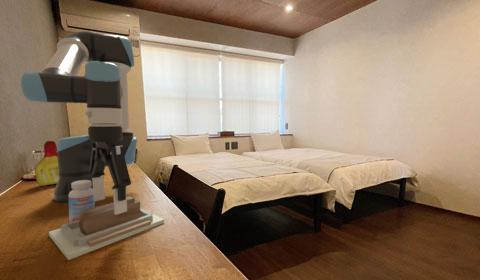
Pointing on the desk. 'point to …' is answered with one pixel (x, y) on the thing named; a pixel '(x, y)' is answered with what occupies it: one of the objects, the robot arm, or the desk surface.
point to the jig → (99, 234)
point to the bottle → (48, 165)
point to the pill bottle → (80, 198)
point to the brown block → (107, 216)
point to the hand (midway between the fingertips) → (109, 205)
